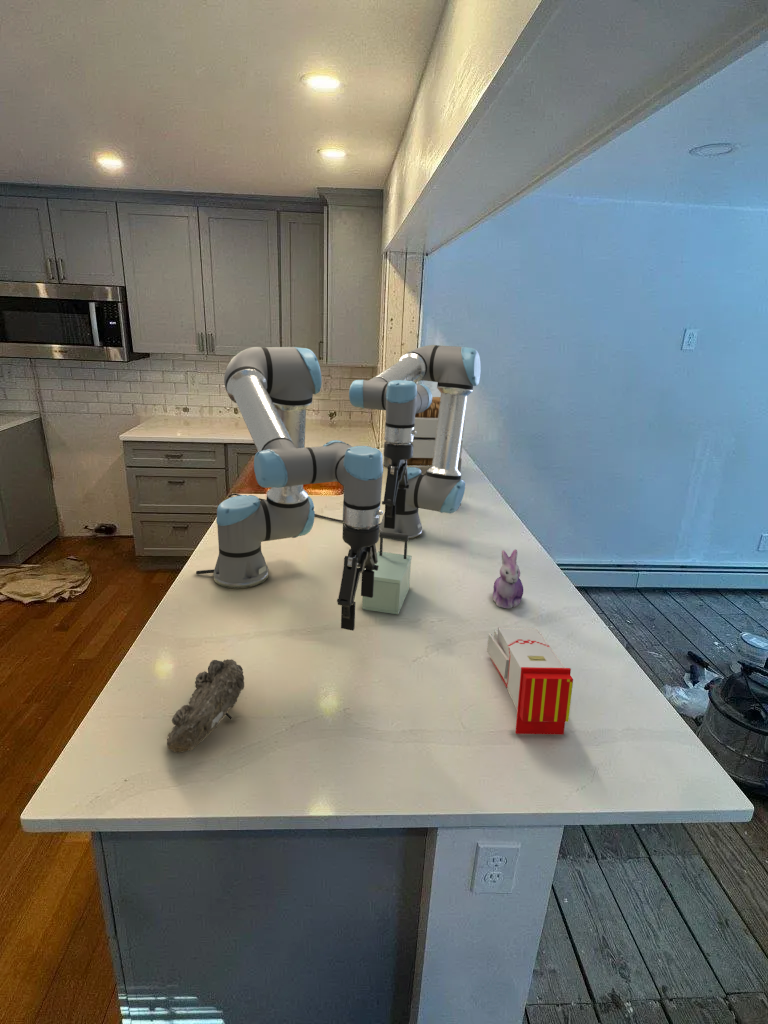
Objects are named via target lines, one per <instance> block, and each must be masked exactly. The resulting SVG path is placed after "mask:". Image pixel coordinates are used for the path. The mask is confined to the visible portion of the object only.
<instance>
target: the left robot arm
mask: <svg viewBox="0 0 768 1024" xmlns="http://www.w3.org/2000/svg"><path fill="white" fill-rule="evenodd" d="M322 379H323V377H322V372H321V366H320V363H319V360H318V357H317V356H316V354H315V353H314V352H313V350H312V349H310V348H306V347H297V346H274V347H273V346H270V347H269V346H265V347H263V346H262V347H261V346H252V347H248V348H245V349H243V350H241V351H239V352H238V353H237V354H235V355H234V356H233V357H232V358H231V360H230V361H229V362H228V364H227V366H226V368H225V371H224V377H223V383H224V389H225V391H226V393H227V396H228V398H229V399H230V400H231V401H232V402H233V403H235V404H236V406H237V407H238V409H239V412H240V414H241V416H242V419H243V421H244V423H245V426H246V427H247V428H246V429H247V430H248V433H249V435H250V436H251V439H252V441H253V443H254V447H255V449H256V450H257V452H256V453H255V455H254V458H253V471H254V475H255V480H256V482H257V484H258V485H259V486H260V487H261V488H264V489H265V488H266V489H267V488H269V489H268V490H267V491H266V499H265V500H262V501H261V500H259V498H260V497H258V496H256V495H254V494H253V495H252V494H248V495H247V494H240V496H236V495H234V496H233V497H232V496H231V497H228V498H226V499H224V500H223V501H222V502H220V503H219V504H218V506H217V508H216V525H217V541H218V543H217V544H218V556H217V559H216V563H215V566H214V569H201V570H196V571H195V574H196V575H204V574H206V575H207V574H213V580H214V583H216V584H217V585H219V586H220V587H222V588H228V589H248V588H252V587H256V586H259V585H261V584H264V583H265V581H267V580H268V578H269V568H268V564H267V562H266V559H265V557H264V555H263V552H262V543H263V542H270V541H276V540H283V539H291V538H292V539H295V538H298V537H302V536H306V535H308V534H309V533H310V532H311V530H312V528H313V526H314V523H315V517H316V516H315V514H316V512H315V504H314V501H313V499H312V498H311V497H310V496H309V494H308V492H307V490H305V488H304V485H313V484H325V483H335V482H337V483H339V484H340V486H343V500H342V501H343V502H342V520H343V522H342V540H343V542H344V543H345V544H347V545H348V546H349V547H350V548H349V550H348V552H347V555H344V558H343V569H342V576H341V581H340V587H339V592H338V598H337V599H336V602H337V606H341V611H340V612H341V615H340V629H342V630H343V629H344V630H347V631H351V632H352V631H353V632H354V631H355V627H356V626H355V624H356V623H355V622H356V601H355V597H356V594H357V589H358V585H359V582H360V581H361V584H360V596H361V597H363V596H365V597H370V598H372V597H373V588H374V571H373V570H376V571H378V565H375V564H377V562H378V559H377V552H378V551H377V545H376V544H377V543H378V542H379V541H380V538H379V534H380V532H379V527H380V525H379V524H378V523H380V522H381V521H380V520H381V516H383V515H384V511H383V510H381V505H382V490H383V489H382V488H383V474H384V464H383V463H384V455H383V453H382V451H381V449H378V448H376V447H371V446H369V445H355V446H352V445H350V444H349V443H346V442H345V441H342V440H339V439H333V440H329V441H328V442H326V443H324V444H323V445H322V446H311V447H309V446H307V447H305V446H306V423H307V409H308V407H309V406H311V404H313V399H314V398H313V396H314V395H317V394H319V393H320V392H321V388H322V383H323V380H322ZM360 578H361V580H360Z"/></svg>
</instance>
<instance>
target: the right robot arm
mask: <svg viewBox="0 0 768 1024" xmlns="http://www.w3.org/2000/svg"><path fill="white" fill-rule="evenodd" d="M481 370H482V365H481V358H480V354H479V352H478V350H477V349H476V348H474V347H468V346H455V345H438V344H429V345H423V346H420V347H416V348H414V349H412V350H410V351H407V352H405V353H404V354H403V355H401V356H400V357H399V359H398V361H397V362H396V363H394V364H392V365H391V366H389V367H388V368H386V369H385V370H383V371H381V372H380V373H378V374H376V375H375V376H374V377H371V378H370V379H368V380H365V379H355V380H353V381H352V382H351V383H350V386H349V390H348V399H349V402H350V404H351V406H352V407H355V408H360V409H364V410H365V409H366V410H367V409H368V410H375V411H376V410H377V411H385V422H384V442H385V443H384V442H383V457H384V456H385V457H386V458H390V459H391V460H392V462H391V465H389V466H388V467H387V475H386V480H385V488H384V489H385V490H384V494H383V495H384V496H383V500H381V505H383V506H384V512H383V514H382V519H381V521H380V522H379V523H378V524H379V526H380V527H379V533H380V532H388V533H396V534H404V535H409V539H408V541H410V540H415V539H418V538H420V537H421V536H422V535H423V525H422V522H421V518H420V515H419V509H420V510H427V511H433V512H438V513H441V514H443V513H444V514H454V513H456V512H457V511H458V509H459V508H460V506H461V505H462V502H463V499H464V495H465V490H466V481H465V480H463V479H462V473H460V472H459V471H458V461H459V453H460V446H461V440H462V439H463V438H462V431H463V424H464V425H465V421H464V420H465V416H466V408H467V401H468V396H469V395H470V394H472V393H473V390H474V387H477V386H478V385H479V384H480V381H481V375H482V374H481V373H482V372H481ZM421 381H423V382H432V383H437V384H436V388H437V390H438V391H439V392H440V397H441V398H440V406H439V413H438V421H437V429H436V437H435V445H434V453H433V461H432V465H430V466H429V468H428V469H427V470H426V473H425V474H422V470H421V468H419V467H416V466H407V459H410V458H412V456H413V444H412V443H411V442H413V439H414V434H416V431H414V426H415V414H418V413H421V412H424V411H425V410H426V409H427V408H428V407H429V406H430V405H431V402H432V397H433V394H432V391H431V389H430V388H429V387H428V386H427V385H425V384H423V383H419V382H421ZM386 441H387V442H386ZM240 495H241V494H240V493H231V494H229V495H228V496H227V497H228V498H232V496H233V497H234V496H240ZM258 498H259V500H260V501H262V500H266V499H265V498H260V497H258ZM460 504H461V505H460ZM315 517H318V518H321V519H325V520H329V521H335V522H339V523H344V522H343V519H338V518H333V517H330V516H329V517H328V516H325V515H320V514H317V513H315Z"/></svg>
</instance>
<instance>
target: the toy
mask: <svg viewBox="0 0 768 1024" xmlns="http://www.w3.org/2000/svg"><path fill="white" fill-rule="evenodd" d="M493 633H494V634H492V633H488V638H487V645H486V653H487V654H488V656H489V658H490V661H491V662H492V664H493V666H494V667H495V669H496V671H497V673H498V675H499V676H500V678H501V680H502V683H503V684H504V686H505V688H506V689H507V692H508V694H509V696H510V698H511V701H512V702H513V705H514V706H515V709H516V721H515V734H516V735H557V736H558V735H563V736H565V727H566V723H569V721H570V711H571V703H572V695H573V693H572V692H573V685H574V678H573V677H572V676H571V672H572V669H571V667H565V665H564V664H563V662H562V661H561V660H560V658H559V657H558V656H557V654H556V653H555V652H554V650H553V649H552V647H551V646H550V645H549V643H548V642H547V641H546V639H545V637H544V635H543V633H541V632H540V631H539V629H538V628H535V627H534V628H533V627H532V628H531V627H529V628H526V627H525V628H524V627H498V628H497V629H494V632H493Z"/></svg>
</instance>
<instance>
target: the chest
mask: <svg viewBox="0 0 768 1024" xmlns="http://www.w3.org/2000/svg"><path fill="white" fill-rule="evenodd" d="M411 565H412V560H411V561H410V563H409V566H408V568H407V570H406V572H405V574H404V576H403V579H402V581H401V583H400V584H397V583H390V582H383V581H376V580H374V588H373V597H372V598H370V597H365V596H362V603H361V608H362V610H366V611H373V612H379V613H385V614H392V615H400V612H401V610H402V607H403V605H404V602H405V600H406V598H407V595H408V592H409V590H410V584H411V583H410V580H411Z"/></svg>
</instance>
